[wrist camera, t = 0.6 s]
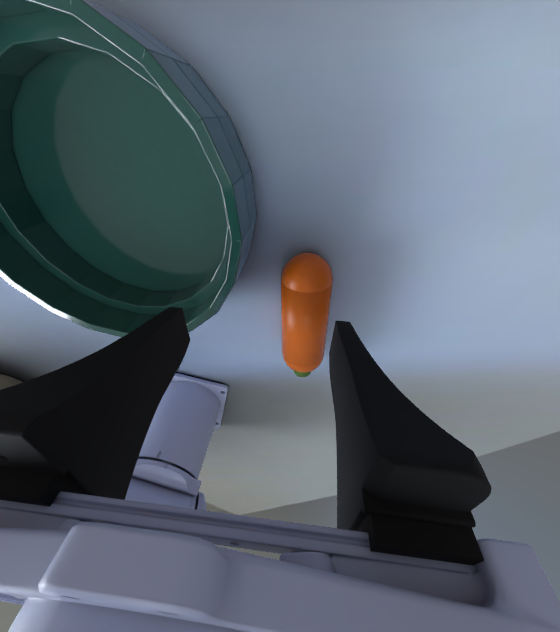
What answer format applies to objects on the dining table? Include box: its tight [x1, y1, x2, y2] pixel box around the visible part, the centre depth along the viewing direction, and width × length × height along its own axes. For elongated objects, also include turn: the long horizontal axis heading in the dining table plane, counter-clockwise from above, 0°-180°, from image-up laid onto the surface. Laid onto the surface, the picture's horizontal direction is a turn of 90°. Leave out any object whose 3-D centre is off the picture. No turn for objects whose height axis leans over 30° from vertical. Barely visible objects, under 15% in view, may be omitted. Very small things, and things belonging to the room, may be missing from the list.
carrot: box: [281, 253, 333, 377], centre depth 21 cm, size 12×4×4 cm, turn 1°
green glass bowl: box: [0, 0, 257, 337], centre depth 16 cm, size 17×17×5 cm
